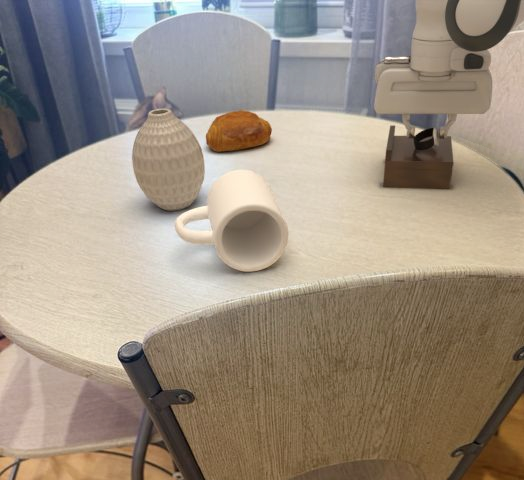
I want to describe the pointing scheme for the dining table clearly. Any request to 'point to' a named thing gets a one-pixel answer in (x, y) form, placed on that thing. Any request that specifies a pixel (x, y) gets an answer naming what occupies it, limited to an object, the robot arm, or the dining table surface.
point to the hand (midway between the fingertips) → (426, 137)
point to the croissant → (237, 131)
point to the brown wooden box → (417, 163)
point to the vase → (168, 161)
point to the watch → (428, 143)
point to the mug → (239, 222)
